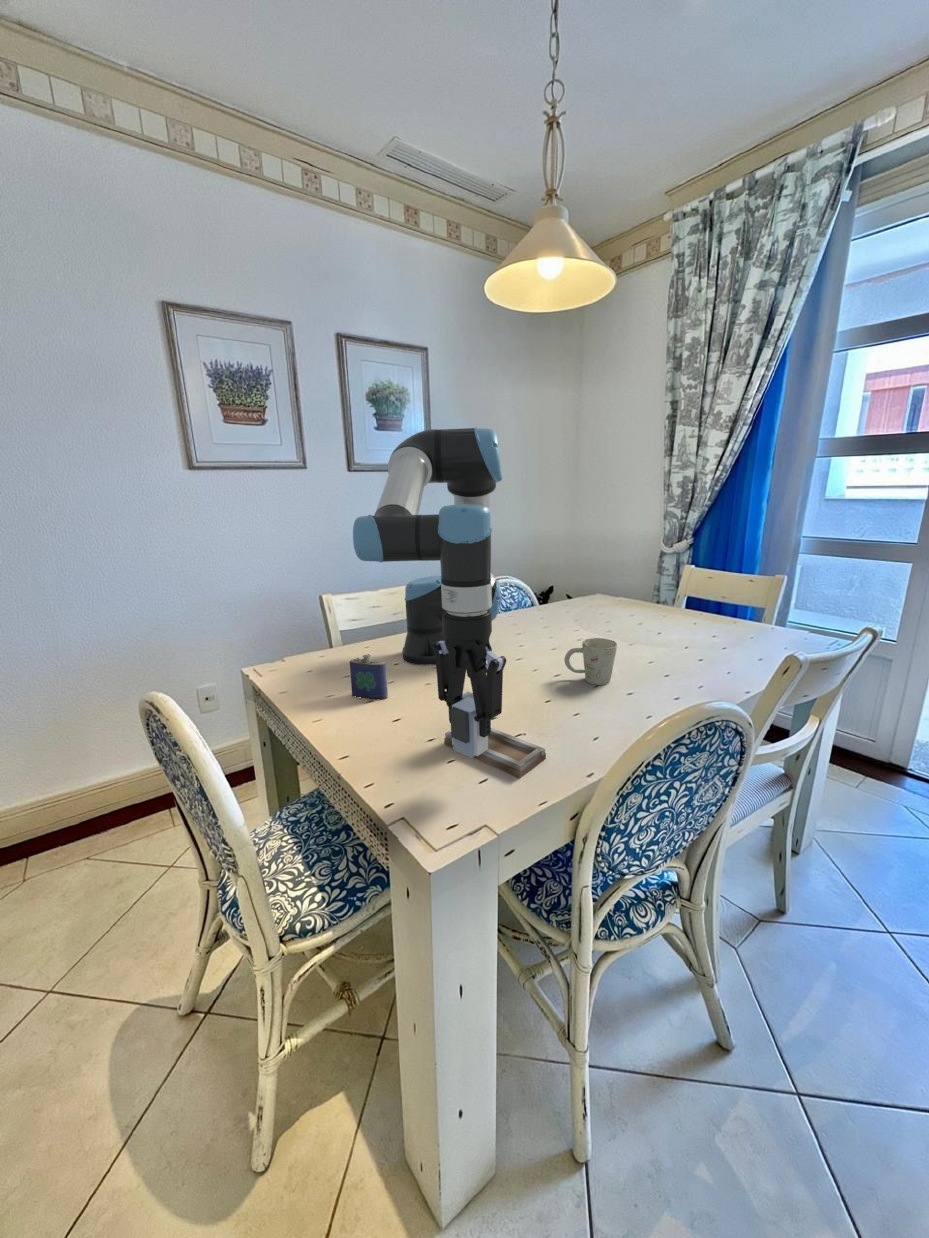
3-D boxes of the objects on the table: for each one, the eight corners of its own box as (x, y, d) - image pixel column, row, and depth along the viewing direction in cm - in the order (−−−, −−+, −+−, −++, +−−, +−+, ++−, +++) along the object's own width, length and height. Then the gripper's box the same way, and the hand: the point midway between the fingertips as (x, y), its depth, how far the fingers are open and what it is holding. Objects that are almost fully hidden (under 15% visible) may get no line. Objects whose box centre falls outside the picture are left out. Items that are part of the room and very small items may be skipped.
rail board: (444, 743, 96) (442, 700, 93) (471, 728, 101) (470, 687, 99) (519, 778, 84) (520, 729, 81) (545, 758, 90) (546, 712, 87)
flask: (389, 696, 118) (386, 653, 115) (384, 701, 115) (381, 658, 112) (355, 692, 121) (351, 651, 118) (349, 697, 118) (345, 655, 115)
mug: (616, 688, 119) (618, 649, 117) (563, 685, 122) (564, 646, 119) (613, 675, 127) (615, 638, 125) (563, 672, 130) (565, 636, 127)
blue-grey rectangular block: (450, 751, 80) (448, 707, 78) (469, 739, 84) (468, 696, 81) (468, 760, 78) (467, 714, 75) (487, 747, 81) (487, 703, 79)
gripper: (410, 606, 77) (417, 738, 84) (495, 626, 66) (496, 777, 73) (443, 596, 82) (448, 722, 89) (527, 613, 71) (525, 755, 78)
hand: (469, 746), depth 81 cm, fingers closed on blue-grey rectangular block, 4 cm apart
